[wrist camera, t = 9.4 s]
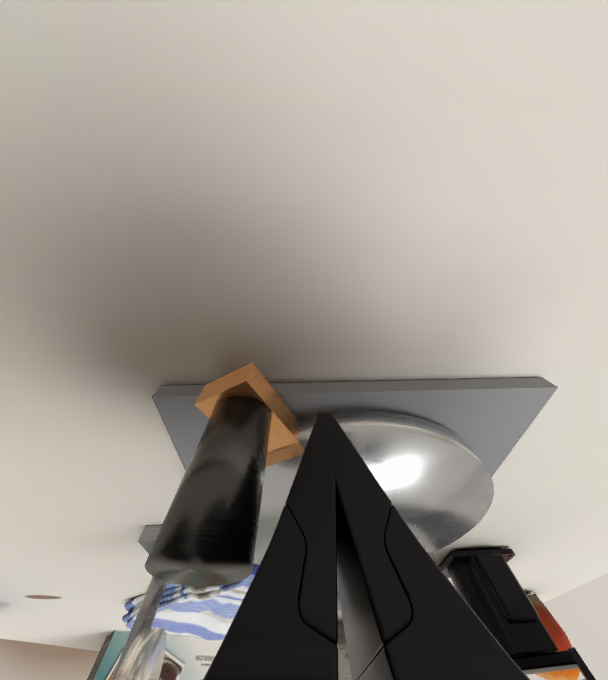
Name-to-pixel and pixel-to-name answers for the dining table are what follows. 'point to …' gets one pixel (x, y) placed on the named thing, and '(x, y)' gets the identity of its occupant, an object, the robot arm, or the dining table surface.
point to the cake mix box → (178, 664)
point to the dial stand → (145, 629)
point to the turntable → (279, 472)
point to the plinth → (390, 408)
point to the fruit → (555, 678)
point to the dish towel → (195, 608)
